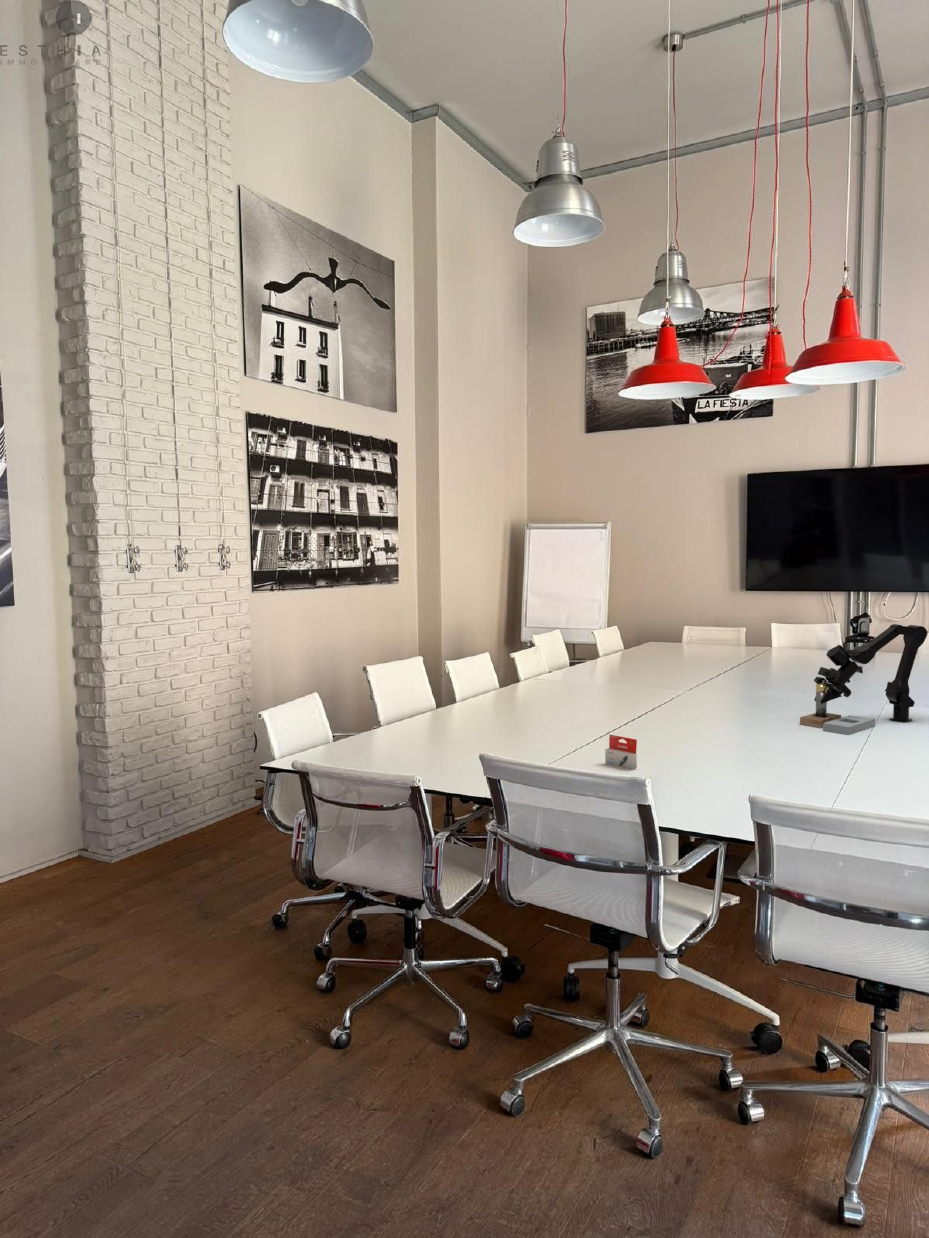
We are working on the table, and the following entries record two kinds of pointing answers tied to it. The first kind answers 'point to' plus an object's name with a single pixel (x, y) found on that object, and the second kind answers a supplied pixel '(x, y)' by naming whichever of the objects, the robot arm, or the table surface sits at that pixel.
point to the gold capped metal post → (820, 692)
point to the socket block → (817, 719)
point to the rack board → (848, 724)
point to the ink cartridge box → (621, 752)
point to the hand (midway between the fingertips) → (818, 701)
